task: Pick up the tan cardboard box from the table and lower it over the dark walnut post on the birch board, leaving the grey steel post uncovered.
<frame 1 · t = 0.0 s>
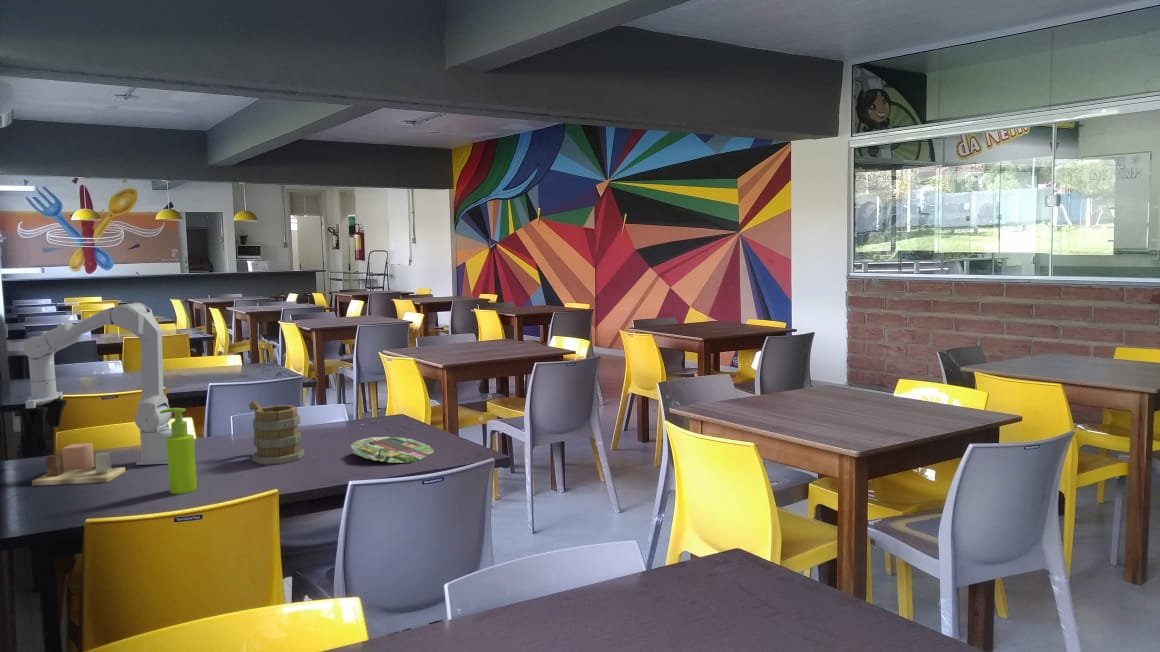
hand: (47, 429, 226), 10 cm above the table, fingers open, 7 cm apart
walnut post: (55, 479, 213), resting on birch board
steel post: (104, 477, 214), resting on birch board
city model: (393, 457, 230), on the table
birch board: (80, 478, 213), on the table
soap dispenser: (181, 491, 200), on the table
tankard: (272, 457, 232), on the table
tan cardboard box: (79, 470, 222), on the table
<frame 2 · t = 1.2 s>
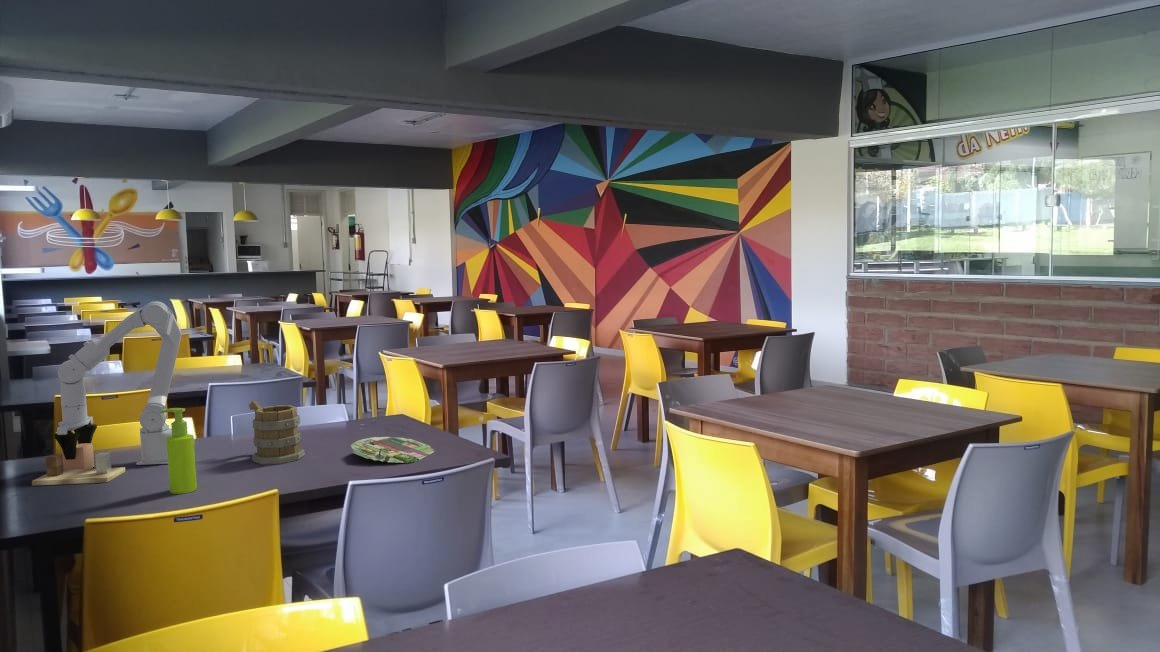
hand: (77, 455, 222), 4 cm above the table, fingers open, 7 cm apart
nothing on the table moved.
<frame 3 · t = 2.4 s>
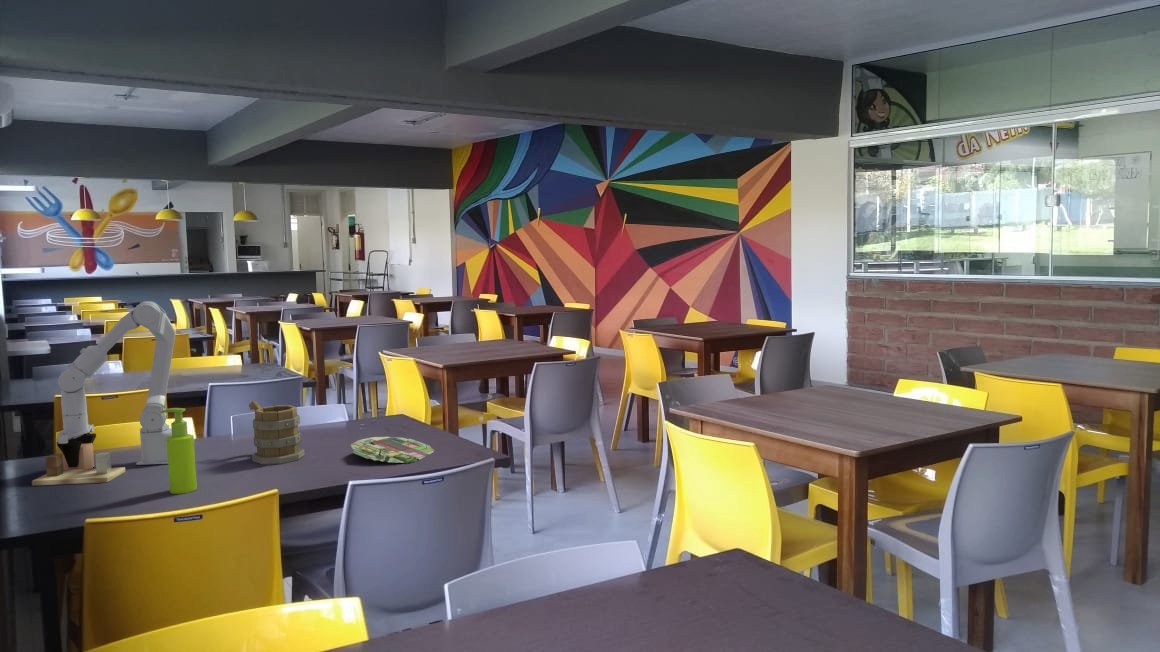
hand: (78, 464, 222), 2 cm above the table, fingers closed on tan cardboard box, 5 cm apart
tan cardboard box: (79, 470, 222), on the table, touching gripper
everything else where it was.
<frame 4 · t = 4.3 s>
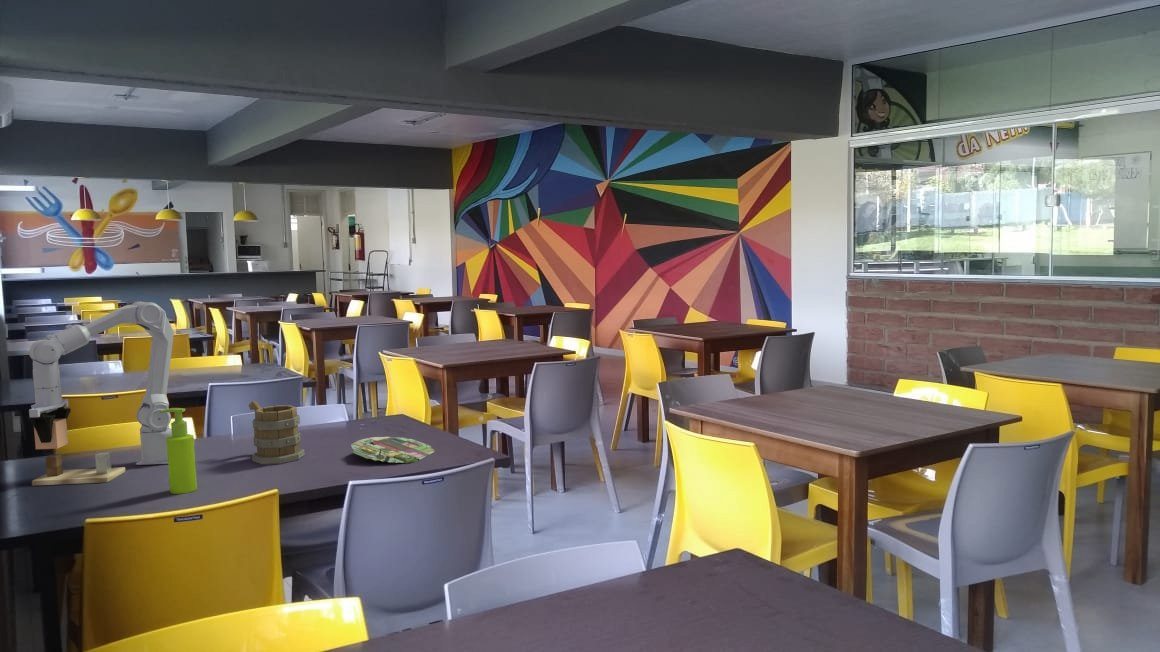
hand: (52, 439, 212), 10 cm above the table, fingers closed on tan cardboard box, 5 cm apart
tan cardboard box: (52, 446, 212), point 9 cm above the table, touching gripper
everything else where it was.
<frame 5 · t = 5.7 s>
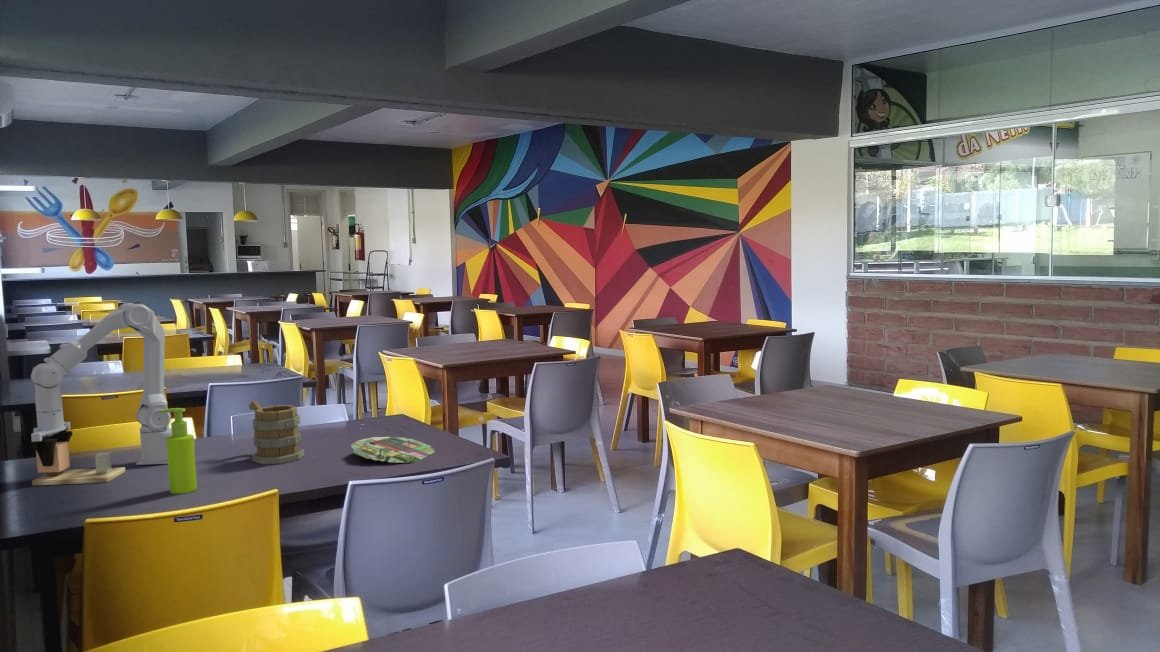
hand: (54, 463, 213), 4 cm above the table, fingers closed on tan cardboard box, 5 cm apart
tan cardboard box: (54, 469, 213), point 3 cm above the table, touching gripper
everything else where it was.
when the fingers open (4 cm above the table, at t = 6.6 s): tan cardboard box drops 1 cm, resting on birch board.
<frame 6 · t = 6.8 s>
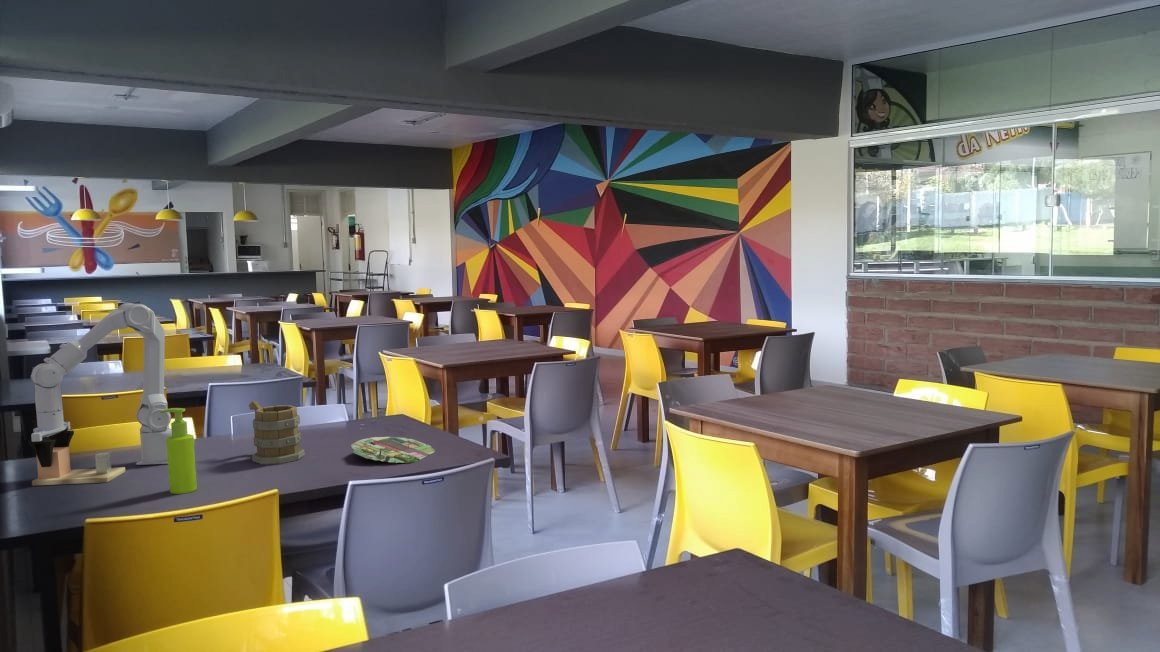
hand: (54, 463, 213), 4 cm above the table, fingers open, 7 cm apart
tan cardboard box: (54, 475, 213), point 1 cm above the table, touching birch board
everything else where it was.
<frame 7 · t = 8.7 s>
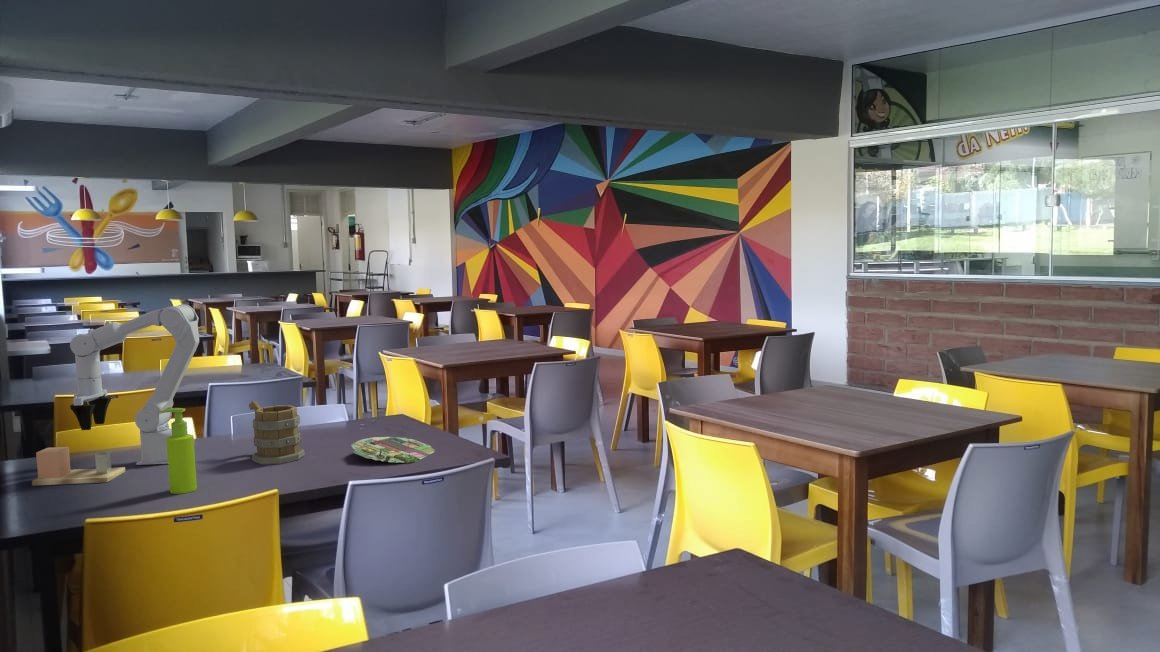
hand: (93, 426, 227), 10 cm above the table, fingers open, 7 cm apart
nothing on the table moved.
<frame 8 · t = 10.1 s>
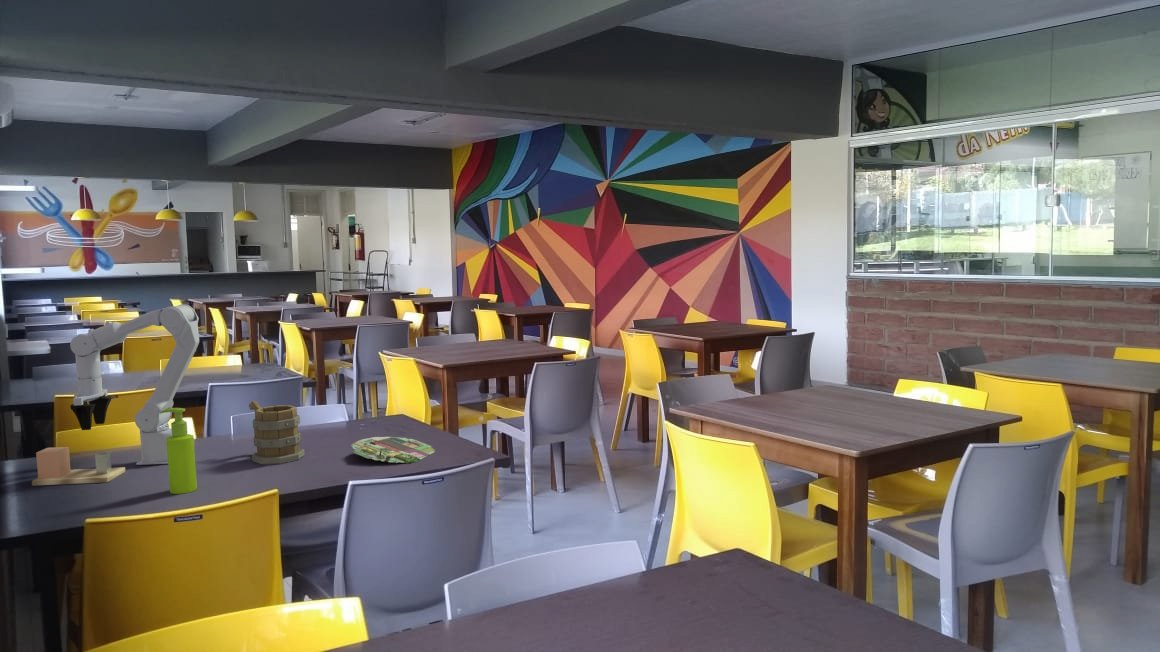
hand: (93, 426, 227), 10 cm above the table, fingers open, 7 cm apart
nothing on the table moved.
at the end: tan cardboard box 0.1 cm from the walnut post (horizontally); tan cardboard box point 1.2 cm above the table; the gripper is holding nothing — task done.
